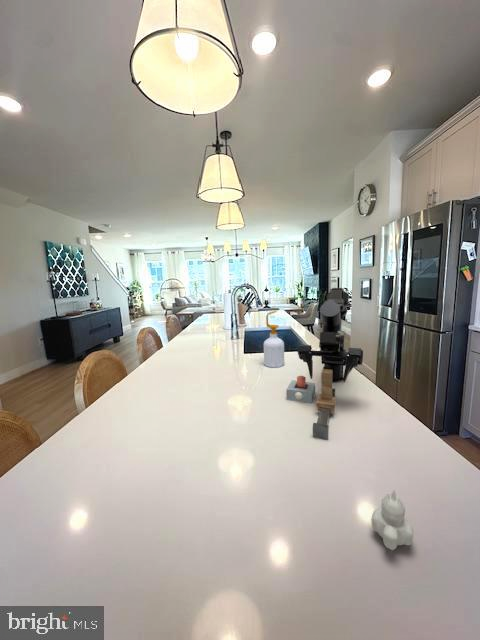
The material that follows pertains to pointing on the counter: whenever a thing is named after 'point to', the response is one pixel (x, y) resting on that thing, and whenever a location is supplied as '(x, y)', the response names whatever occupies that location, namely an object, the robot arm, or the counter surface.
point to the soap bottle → (273, 347)
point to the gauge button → (301, 382)
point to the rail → (322, 422)
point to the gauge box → (300, 392)
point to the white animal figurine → (392, 522)
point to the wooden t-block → (326, 391)
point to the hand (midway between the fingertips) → (327, 380)
